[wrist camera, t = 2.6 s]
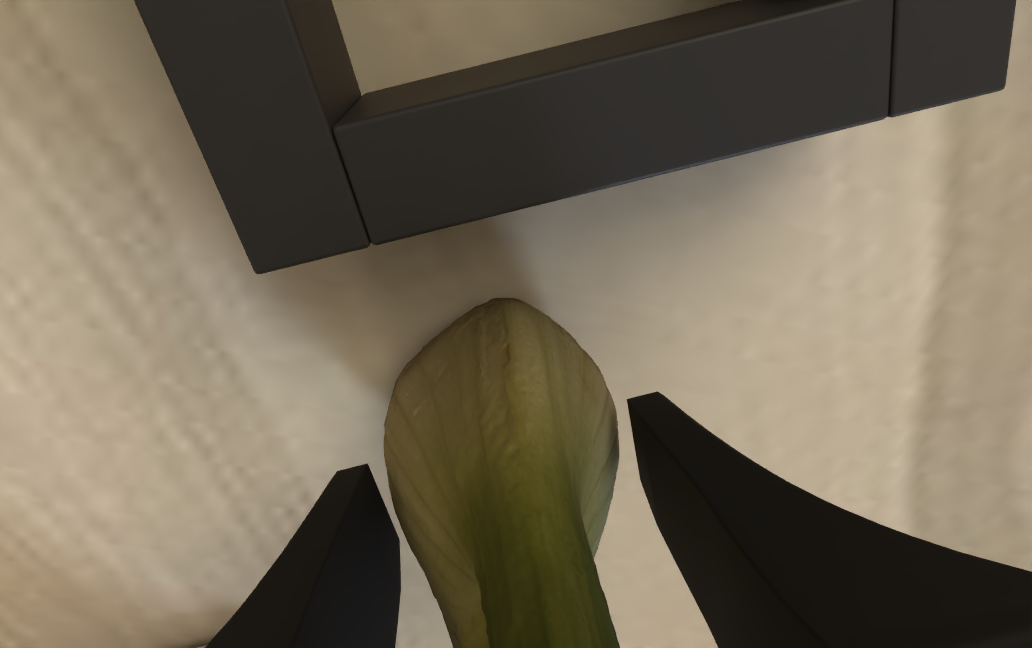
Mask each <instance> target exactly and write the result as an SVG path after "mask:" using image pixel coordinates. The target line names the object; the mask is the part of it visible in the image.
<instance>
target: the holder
mask: <svg viewBox="0 0 1032 648" xmlns="http://www.w3.org/2000/svg"><path fill="white" fill-rule="evenodd" d="M134 1H135V4H136V6H137V8H138V10H139V13H140V15H141V17H142V19H143V22H144V24H145V26H146V29H147V31H148V33H149V35H150V38H151V40H152V42H153V44H154V47H155V49H156V51H157V53H158V56H159V58H160V60H161V62H162V65H163V67H164V69H165V71H166V74H167V76H168V78H169V80H170V83H171V85H172V87H173V89H174V92H175V94H176V96H177V98H178V101H179V103H180V105H181V107H182V110H183V112H184V114H185V116H186V119H187V121H188V123H189V125H190V128H191V130H192V132H193V134H194V137H195V139H196V141H197V143H198V146H199V148H200V150H201V152H202V155H203V157H204V159H205V161H206V164H207V166H208V168H209V170H210V173H211V175H212V177H213V179H214V182H215V184H216V186H217V188H218V191H219V193H220V195H221V198H222V200H223V202H224V204H225V207H226V209H227V211H228V213H229V216H230V218H231V220H232V222H233V225H234V227H235V229H236V231H237V234H238V236H239V238H240V240H241V243H242V245H243V247H244V249H245V252H246V254H247V256H248V258H249V261H250V263H251V265H252V267H253V270H254V271H255V273H256V274H263V273H267V272H271V271H275V270H279V269H283V268H287V267H291V266H295V265H299V264H303V263H307V262H311V261H315V260H319V259H323V258H327V257H331V256H335V255H339V254H343V253H347V252H351V251H355V250H359V249H363V248H367V247H368V246H370V243H372V244H373V245H379V244H383V243H387V242H391V241H395V240H400V239H404V238H408V237H412V236H416V235H420V234H424V233H428V232H432V231H436V230H440V229H444V228H448V227H452V226H456V225H460V224H464V223H468V222H472V221H476V220H480V219H484V218H488V217H492V216H496V215H500V214H504V213H508V212H512V211H516V210H520V209H524V208H528V207H532V206H536V205H541V204H545V203H549V202H553V201H557V200H561V199H565V198H569V197H573V196H577V195H581V194H585V193H589V192H593V191H597V190H601V189H605V188H609V187H613V186H617V185H621V184H625V183H629V182H633V181H637V180H641V179H645V178H649V177H653V176H657V175H661V174H665V173H669V172H673V171H677V170H682V169H686V168H690V167H694V166H698V165H702V164H706V163H710V162H714V161H718V160H722V159H726V158H730V157H734V156H738V155H742V154H746V153H750V152H754V151H758V150H762V149H766V148H770V147H774V146H778V145H782V144H786V143H790V142H794V141H798V140H802V139H806V138H810V137H814V136H818V135H823V134H827V133H831V132H835V131H839V130H843V129H847V128H851V127H855V126H859V125H863V124H867V123H871V122H875V121H879V120H882V119H885V118H886V117H896V116H900V115H904V114H908V113H912V112H916V111H920V110H924V109H928V108H932V107H936V106H940V105H944V104H948V103H952V102H956V101H960V100H964V99H968V98H972V97H976V96H981V95H985V94H989V93H993V92H997V91H1000V90H1002V89H1004V87H1005V84H1006V76H1007V68H1008V60H1009V53H1010V45H1011V37H1012V29H1013V21H1014V14H1015V6H1016V0H740V1H736V2H732V3H728V4H724V5H720V6H716V7H712V8H708V9H704V10H700V11H696V12H692V13H688V14H684V15H680V16H676V17H672V18H668V19H664V20H660V21H656V22H652V23H648V24H644V25H640V26H636V27H632V28H628V29H624V30H620V31H616V32H612V33H607V34H603V35H599V36H595V37H591V38H587V39H583V40H579V41H575V42H571V43H567V44H563V45H559V46H555V47H551V48H547V49H543V50H539V51H535V52H531V53H527V54H523V55H519V56H515V57H511V58H507V59H503V60H499V61H495V62H491V63H487V64H483V65H478V66H474V67H470V68H466V69H462V70H458V71H454V72H450V73H446V74H442V75H438V76H434V77H430V78H426V79H422V80H418V81H414V82H410V83H406V84H402V85H398V86H394V87H390V88H386V89H382V90H378V91H374V92H370V93H366V94H364V95H363V96H361V93H360V90H359V87H358V83H357V80H356V77H355V74H354V71H353V68H352V64H351V61H350V58H349V55H348V52H347V49H346V45H345V42H344V39H343V36H342V33H341V30H340V26H339V23H338V20H337V17H336V14H335V11H334V7H333V4H332V1H331V0H134Z"/></svg>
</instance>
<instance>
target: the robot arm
mask: <svg viewBox="0 0 1032 648" xmlns="http://www.w3.org/2000/svg"><path fill="white" fill-rule="evenodd" d="M627 403H628V409H629V415H630V421H631V427H632V433H633V439H634V445H635V451H636V457H637V463H638V469H639V475H640V480H641V483H642V486H643V488H644V491H645V494H646V497H647V499H648V502H649V505H650V508H651V510H652V513H653V516H654V518H655V521H656V523H657V526H658V528H659V530H660V532H661V534H662V536H663V538H664V540H665V542H666V544H667V546H668V548H669V550H670V552H671V554H672V556H673V558H674V560H675V562H676V564H677V566H678V568H679V569H680V571H681V573H682V575H683V577H684V579H685V581H686V583H687V585H688V587H689V589H690V591H691V593H692V595H693V597H694V599H695V601H696V603H697V605H698V607H699V609H700V611H701V613H702V614H703V616H704V618H705V620H706V622H707V624H708V626H709V628H710V631H711V633H712V635H713V637H714V639H715V641H716V644H717V646H718V648H1032V572H1031V571H1027V570H1023V569H1020V568H1016V567H1012V566H1009V565H1005V564H1001V563H998V562H994V561H990V560H987V559H983V558H979V557H976V556H972V555H968V554H965V553H961V552H958V551H955V550H952V549H949V548H946V547H943V546H940V545H937V544H934V543H931V542H928V541H925V540H922V539H919V538H916V537H913V536H910V535H907V534H904V533H902V532H899V531H896V530H894V529H891V528H888V527H886V526H883V525H880V524H878V523H876V522H873V521H871V520H868V519H866V518H864V517H861V516H859V515H856V514H854V513H852V512H849V511H847V510H844V509H842V508H840V507H838V506H836V505H833V504H831V503H829V502H827V501H825V500H822V499H820V498H818V497H816V496H815V495H813V494H811V493H809V492H807V491H805V490H803V489H801V488H799V487H797V486H795V485H793V484H791V483H789V482H787V481H785V480H784V479H782V478H780V477H779V476H777V475H775V474H773V473H772V472H770V471H768V470H767V469H765V468H764V467H762V466H760V465H759V464H757V463H755V462H754V461H752V460H751V459H749V458H747V457H746V456H744V455H743V454H741V453H740V452H738V451H737V450H735V449H734V448H732V447H731V446H730V445H728V444H727V443H725V442H724V441H722V440H721V439H720V438H718V437H717V436H715V435H714V434H712V433H711V432H710V431H708V430H707V429H706V428H704V427H703V426H702V425H700V424H699V423H698V422H696V421H695V420H694V419H692V418H691V417H690V416H689V415H687V414H686V413H685V412H684V411H682V410H681V409H680V408H679V407H677V406H676V405H675V404H674V403H672V402H671V401H670V400H669V399H668V398H666V397H665V396H664V395H662V394H661V393H659V392H654V393H650V394H646V395H642V396H638V397H634V398H630V399H627ZM400 592H401V570H400V541H399V537H398V535H397V533H396V530H395V528H394V525H393V523H392V521H391V518H390V516H389V514H388V511H387V509H386V506H385V504H384V502H383V499H382V497H381V494H380V492H379V490H378V487H377V485H376V482H375V480H374V478H373V475H372V473H371V470H370V468H369V466H368V464H364V465H360V466H356V467H352V468H348V469H344V470H340V471H337V472H336V474H335V475H334V476H333V478H332V479H331V481H330V482H329V484H328V485H327V487H326V488H325V490H324V491H323V493H322V494H321V496H320V497H319V499H318V500H317V502H316V503H315V505H314V506H313V508H312V509H311V511H310V512H309V514H308V515H307V517H306V518H305V520H304V521H303V523H302V524H301V526H300V527H299V529H298V530H297V532H296V533H295V534H294V536H293V537H292V539H291V540H290V542H289V543H288V545H287V546H286V548H285V549H284V550H283V552H282V553H281V555H280V556H279V557H278V559H277V560H276V561H275V563H274V564H273V565H272V567H271V568H270V569H269V570H268V572H267V573H266V574H265V576H264V577H263V578H262V580H261V581H260V582H259V584H258V585H257V586H256V588H255V589H254V590H253V592H252V593H251V594H250V596H249V597H248V598H247V599H246V601H245V602H244V603H243V604H242V606H241V607H240V608H239V609H238V610H237V612H236V613H235V614H234V615H233V616H232V617H231V619H230V620H229V621H228V622H227V623H226V624H225V626H224V627H223V628H222V629H221V630H220V631H219V632H218V633H217V635H216V636H215V637H214V638H213V639H212V640H211V641H210V642H209V644H208V645H205V646H201V647H197V648H395V644H396V634H397V624H398V614H399V603H400Z"/></svg>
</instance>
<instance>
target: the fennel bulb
mask: <svg viewBox="0 0 1032 648" xmlns="http://www.w3.org/2000/svg"><path fill="white" fill-rule="evenodd" d="M617 426H618V422H617V414H616V408H615V405H614V402H613V399H612V397H611V394H610V392H609V390H608V388H607V386H606V384H605V380H604V378H603V376H602V374H601V372H600V370H599V368H598V366H597V365H596V364H595V363H594V361H593V359H592V358H591V357H590V356H589V355H588V354H587V353H586V352H585V351H584V350H583V349H582V348H581V347H580V346H579V344H578V343H577V342H576V340H575V339H574V338H573V337H572V336H571V335H570V334H569V333H568V332H567V331H566V330H565V329H564V328H562V327H561V326H560V325H558V324H557V323H556V322H554V321H553V320H552V319H551V318H549V317H548V316H547V315H545V314H544V313H542V312H540V311H539V310H537V309H535V308H534V307H532V306H530V305H528V304H527V303H525V302H523V301H521V300H518V299H515V298H494V299H491V300H490V301H489V302H487V303H485V304H482V305H479V306H477V307H475V308H474V309H472V310H471V311H470V312H468V313H467V314H465V315H463V316H462V317H460V318H459V319H457V320H456V321H455V322H454V323H453V324H452V325H451V326H450V327H449V328H447V329H446V330H444V331H443V332H441V333H440V334H439V335H438V336H436V337H435V338H434V339H433V340H431V341H430V342H429V343H428V344H426V345H425V346H424V347H423V349H422V351H421V352H419V353H418V354H417V355H416V356H415V357H414V358H413V359H412V360H411V361H410V362H409V363H408V364H407V365H406V366H405V368H404V369H403V371H402V372H401V374H400V375H399V377H398V379H397V381H396V384H395V387H394V391H393V394H392V397H391V401H390V404H389V407H388V412H387V416H386V419H385V423H384V427H385V435H384V457H385V463H386V467H387V475H388V482H389V488H390V492H391V497H392V502H393V506H394V509H395V513H396V515H397V517H398V520H399V522H400V525H401V528H402V530H403V532H404V535H405V537H406V539H407V542H408V544H409V546H410V548H411V550H412V552H413V553H414V555H415V557H416V558H417V560H418V562H419V564H420V566H421V568H422V569H423V571H424V573H425V575H426V577H427V580H428V582H429V585H430V587H431V590H432V593H433V595H434V597H435V598H436V599H437V602H438V605H439V607H440V609H441V611H442V614H443V618H444V621H445V623H446V626H447V629H448V632H449V635H450V638H451V641H452V645H453V648H620V646H619V643H618V640H617V636H616V632H615V629H614V626H613V623H612V620H611V617H610V613H609V609H608V605H607V601H606V598H605V595H604V592H603V590H602V588H601V585H600V581H599V578H598V573H597V569H596V565H595V563H594V560H593V559H594V556H595V554H596V551H597V549H598V546H599V542H600V539H601V535H602V532H603V529H604V526H605V523H606V519H607V515H608V511H609V507H610V503H611V500H612V497H613V490H614V484H615V479H616V472H617V469H618V462H619V440H618V428H617Z"/></svg>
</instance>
